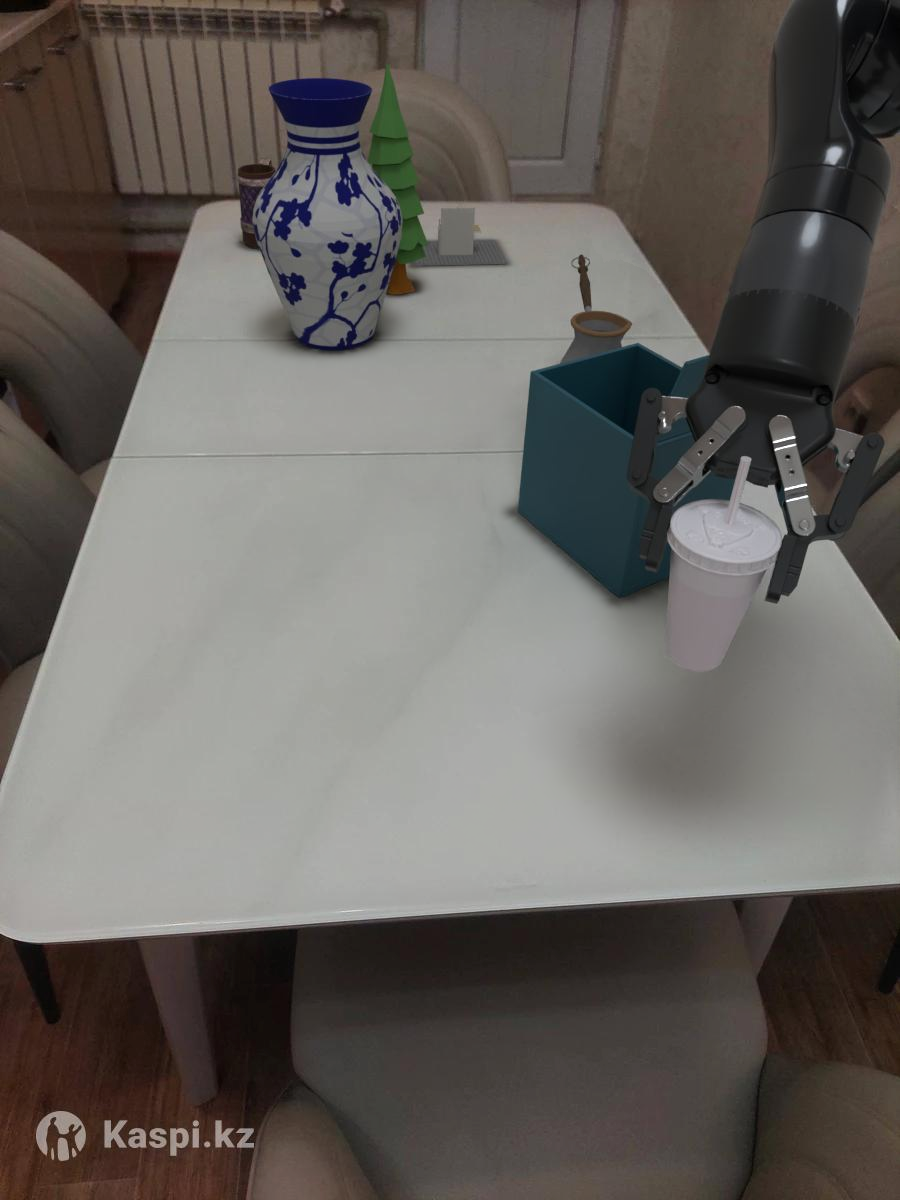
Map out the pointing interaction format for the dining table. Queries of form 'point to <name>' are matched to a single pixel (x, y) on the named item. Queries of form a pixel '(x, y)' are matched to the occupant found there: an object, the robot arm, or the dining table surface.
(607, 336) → the coffee pot
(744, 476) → the smoothie
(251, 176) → the mug
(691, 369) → the flap
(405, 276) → the decorative tree
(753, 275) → the robot arm
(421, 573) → the dining table surface
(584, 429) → the open storage box
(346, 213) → the vase
